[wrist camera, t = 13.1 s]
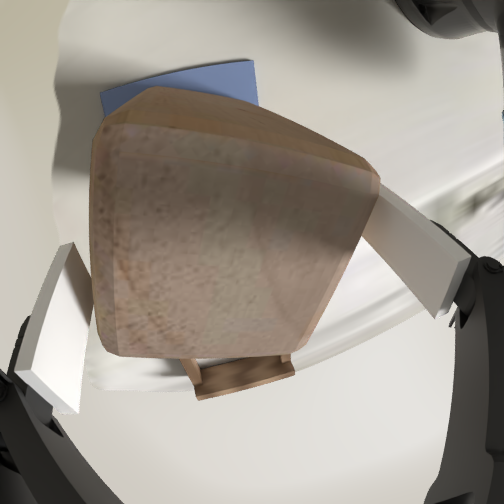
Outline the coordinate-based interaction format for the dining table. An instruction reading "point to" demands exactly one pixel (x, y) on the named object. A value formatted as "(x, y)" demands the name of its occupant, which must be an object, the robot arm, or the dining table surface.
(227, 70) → the blue square plate
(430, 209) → the dining table surface
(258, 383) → the frame
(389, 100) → the dining table surface
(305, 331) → the wooden block
